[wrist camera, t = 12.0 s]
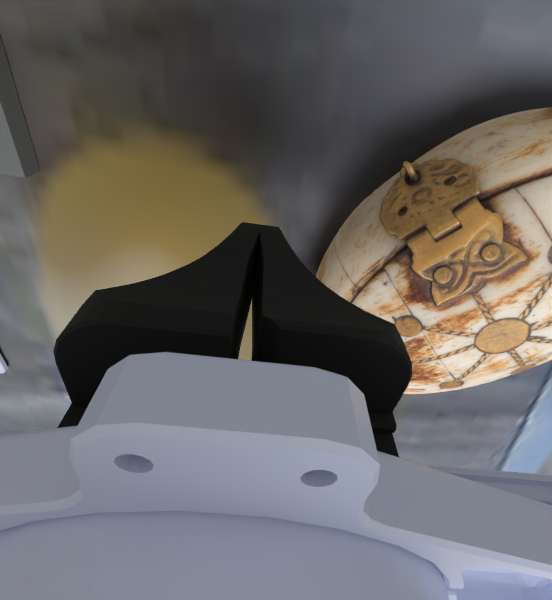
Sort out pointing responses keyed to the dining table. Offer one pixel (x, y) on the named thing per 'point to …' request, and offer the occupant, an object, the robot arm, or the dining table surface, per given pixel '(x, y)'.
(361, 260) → the trinket box
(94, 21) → the dining table surface
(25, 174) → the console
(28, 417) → the dining table surface
